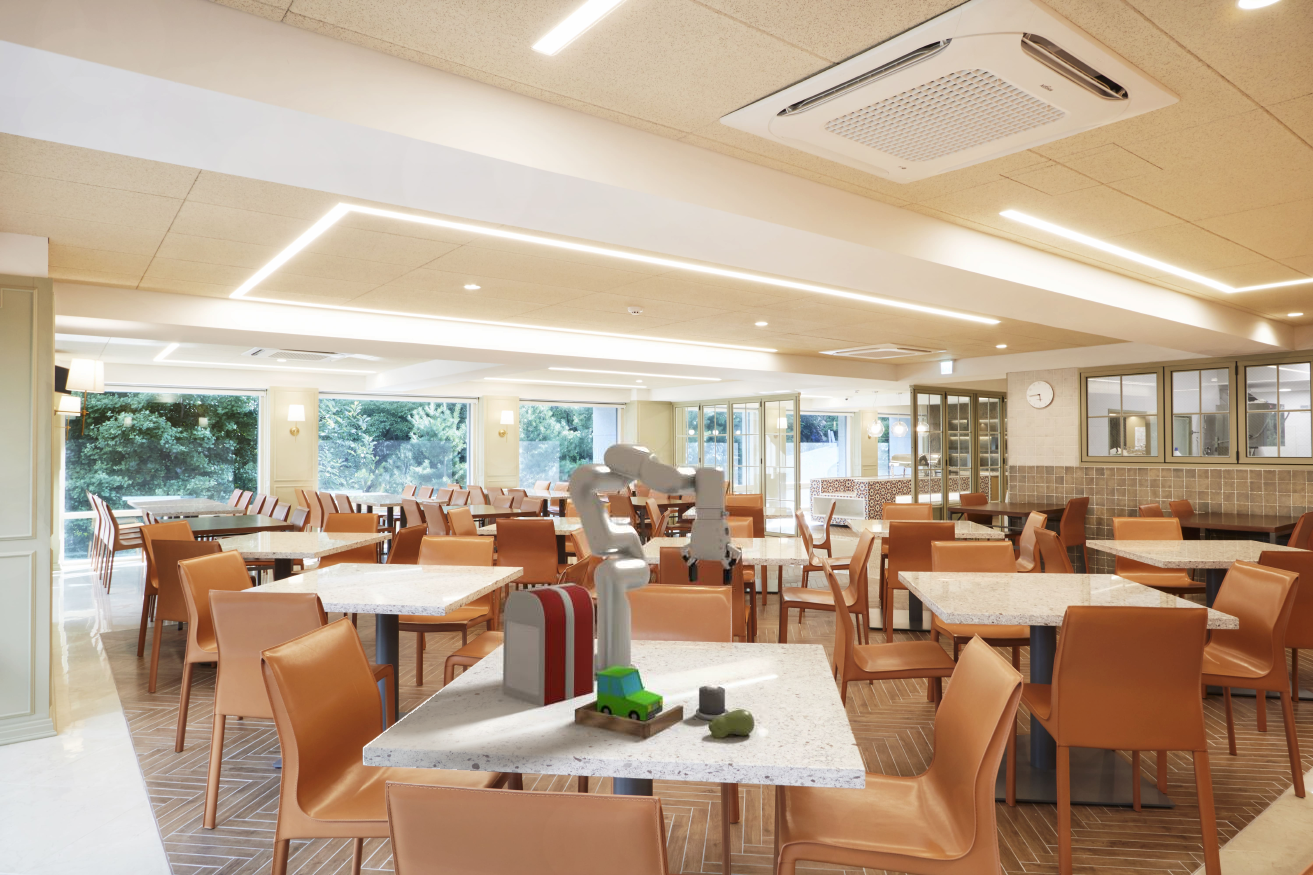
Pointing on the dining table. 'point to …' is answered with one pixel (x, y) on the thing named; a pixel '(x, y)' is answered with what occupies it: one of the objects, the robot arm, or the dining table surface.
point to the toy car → (626, 694)
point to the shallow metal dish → (709, 717)
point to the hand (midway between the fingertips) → (710, 582)
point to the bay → (627, 721)
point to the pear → (732, 724)
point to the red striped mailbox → (548, 644)
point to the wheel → (711, 700)
